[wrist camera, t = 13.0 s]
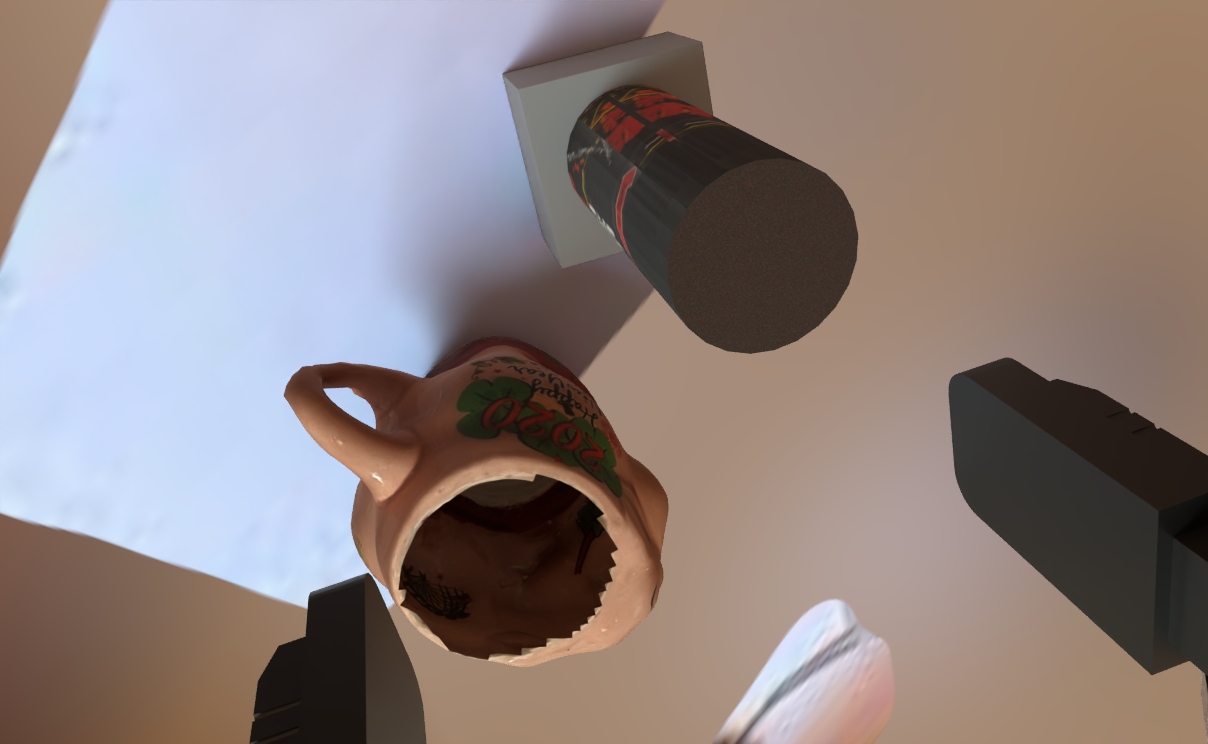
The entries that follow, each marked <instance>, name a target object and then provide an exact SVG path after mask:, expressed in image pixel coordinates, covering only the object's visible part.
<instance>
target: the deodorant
mask: <svg viewBox="0 0 1208 744" xmlns="http://www.w3.org/2000/svg"><path fill="white" fill-rule="evenodd" d="M567 165H568V173H569V176H570V179H571V182H572V185H573V188H574V189H575V191H576V192H577V194H578V195H579V197H580V198H581V200H582V201H583V203H584V204H585V205H586V206H587V207H588V209H589V210H590V211H591V212H592V213H593V215H594V216H595V217H596V218H597V219H598V221H599V222H600V223H601V224H602V225H603V227H604V228H605V229H606V230H607V231H608V232H609V234H610V235H611V236H612V237H613V238H614V240H615V241H616V242H617V243H618V244H619V246H620V247H621V248H622V249H623V250H624V252H625V253H626V254H627V255H628V256H629V258H630V259H631V260H632V261H633V262H634V264H635V265H636V266H637V267H638V268H639V270H640V271H641V272H642V273H643V274H644V276H645V277H646V278H647V279H648V280H649V282H650V283H651V284H652V285H653V286H654V288H655V289H656V290H657V291H658V292H659V294H660V295H661V296H662V297H663V298H664V300H665V301H666V302H667V303H668V304H669V306H670V307H671V308H672V309H673V310H674V312H675V313H676V314H677V315H678V316H679V318H680V319H681V320H682V321H683V322H684V323H685V325H686V326H687V327H688V328H689V329H690V330H691V331H692V332H694V333H695V334H696V335H697V336H699V337H700V338H701V339H702V340H704V341H705V342H706V343H709V344H711V345H713V346H716V347H718V348H721V349H723V350H726V351H731V352H740V353H749V354H751V353H758V352H765V351H771V350H776V349H778V348H780V347H783V346H785V345H788V344H790V343H792V342H795V341H797V340H799V339H800V338H802V337H803V336H805V335H806V334H807V333H809V332H810V331H811V330H813V329H815V328H816V327H817V326H819V324H820V323H821V322H822V321H823V320H824V319H825V318H826V317H827V316H828V315H829V314H830V313H831V311H832V310H833V309H834V308H835V307H836V306H837V304H838V302H839V301H840V299H841V297H842V295H843V294H844V292H845V290H846V289H847V287H848V285H849V282H850V279H851V276H852V273H853V270H854V266H855V263H856V259H857V245H858V232H857V227H856V221H855V216H854V212H853V210H852V208H851V206H850V204H849V202H848V200H847V198H846V196H845V194H844V192H843V190H842V189H841V188H840V187H839V186H838V185H837V184H836V183H835V182H834V181H833V180H832V179H831V178H830V177H829V176H828V175H827V174H826V173H824V172H822V171H820V170H818V169H816V168H814V167H812V166H810V165H808V164H806V163H805V162H802V161H801V160H799V159H797V158H795V157H793V156H791V155H789V154H787V153H785V152H783V151H781V150H779V149H777V148H775V147H773V146H771V145H769V144H767V143H765V142H763V141H761V140H759V139H757V138H755V137H754V136H752V135H750V134H748V133H746V132H744V131H742V130H740V129H738V128H736V127H734V126H732V125H730V124H728V123H726V122H724V121H722V120H720V119H718V118H716V117H714V116H712V115H710V114H708V113H706V112H704V111H702V110H700V109H698V108H697V107H695V106H693V105H691V104H689V103H687V102H685V101H683V100H681V99H679V98H677V97H675V96H673V95H671V94H669V93H667V92H665V91H663V90H661V89H659V88H657V87H652V86H647V85H641V84H637V85H627V86H621V87H618V88H616V89H613V90H610V91H608V92H605V93H604V94H602V95H601V96H599V97H598V98H597V99H595V100H594V101H593V102H591V103H590V104H589V105H588V106H587V108H586V109H585V110H584V111H583V112H582V114H581V115H580V116H579V117H578V119H577V121H576V123H575V125H574V128H573V130H572V132H571V134H570V138H569V143H568V149H567Z"/></svg>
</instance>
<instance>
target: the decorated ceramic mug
mask: <svg viewBox="0 0 1208 744" xmlns="http://www.w3.org/2000/svg"><path fill="white" fill-rule="evenodd" d="M345 387H348V388H350V389H352V391H353V393H354V394H356V395H358V396H360V397H362V398H363V399H365V400H367V402H368V403H369V404H370V405H371V407H372V409H373V411H374V414H375V418H376V430H375V429H373V428H372V427H370V426H368V425H366V424H364V423H362V422H361V421H359V420H357V419H355V418H354V417H352V416H351V415H349V414H347V413H346V412H345V411H343V410H342V409H341V408H339V407H338V406H337V405H336V404H335V403H334V402H332V401H331V400H330V398H329V397H328V396H327V395H326V393H325V392H324V390H323V389H325V388H345ZM284 397H285V398H286V400H287V401H288V403H289V404H290V406H291V407H292V409H293V411H294V412H295V414H296V415H297V417H298V419H299V420H300V422H301V423H302V425H303V426H304V428H305V429H306V431H307V432H308V433H309V434H310V435H311V437H312V438H313V439H314V440H315V441H316V442H317V443H318V444H319V446H320V447H321V448H323V449H324V450H325V451H326V452H327V453H328V454H330V455H331V456H332V457H334V458H335V459H337V460H338V461H339V462H341V463H342V464H343V465H345V466H346V467H347V468H348V469H350V470H351V471H352V472H353V473H354V474H356V475H357V476H358V477H359V478H360V479H361V480H360V482H359V484H358V486H357V490H356V494H355V499H354V505H353V511H352V519H351V530H352V536H353V539H354V543H355V545H356V548H357V550H358V553H359V555H360V557H361V558H362V560H363V562H364V563H365V565H366V566H367V568H368V569H369V570H370V572H371V573H372V574H373V576H374V577H375V578H376V579H377V580H378V581H379V582H380V583H381V584H382V585H384V586H385V587H386V588H387V589H388V590H389V592H390V595H391V597H392V598H393V600H394V602H395V603H396V605H397V606H398V608H399V609H400V610H401V612H402V613H403V614H404V616H405V617H406V618H407V619H408V621H409V622H410V623H411V624H412V625H413V626H414V627H415V628H416V629H417V630H418V631H419V632H421V633H422V634H423V635H424V636H426V637H427V638H428V639H430V640H432V641H433V642H435V643H437V644H438V645H439V646H441V647H443V648H444V649H446V650H448V651H451V652H454V653H456V654H460V655H462V656H466V657H470V658H475V659H480V660H488V661H494V662H499V663H504V664H508V665H513V666H521V667H528V666H534V665H537V664H539V663H542V662H545V661H549V660H552V659H555V658H558V657H562V656H565V655H570V654H576V653H582V652H590V651H599V650H604V649H607V648H610V647H611V646H614V645H616V644H618V643H619V642H620V641H622V640H623V639H624V638H625V637H626V636H627V635H629V634H630V632H631V631H632V630H633V629H634V628H635V627H636V626H637V625H638V624H639V623H640V622H641V621H642V620H643V619H644V618H646V617H647V616H648V615H649V613H650V612H651V611H652V609H653V608H654V606H655V603H656V601H657V597H658V593H659V588H660V586H661V584H662V581H663V568H662V564H661V561H660V560H661V550H662V544H663V539H664V532H665V526H666V521H667V515H668V498H667V495H666V493H665V491H664V489H663V487H662V486H661V484H660V483H659V481H658V480H657V478H656V477H655V476H654V475H653V474H652V473H651V472H650V471H649V470H648V469H647V468H646V467H645V466H644V465H643V464H641V463H640V462H639V461H637V460H636V459H634V458H633V457H631V456H630V455H629V454H627V453H626V452H625V450H624V449H623V448H622V445H621V444H620V442H619V440H618V438H617V436H616V434H615V433H614V431H613V428H612V426H611V425H610V423H609V421H608V420H607V418H606V417H605V415H604V414H603V412H602V411H601V410H600V408H599V407H598V405H597V403H596V401H595V400H594V398H593V396H592V395H591V394H590V392H589V391H588V390H587V388H586V387H585V386H584V385H583V384H582V383H581V381H580V380H579V379H578V378H577V377H576V376H575V375H574V374H573V373H572V372H571V371H569V370H568V369H567V368H566V367H565V366H563V365H562V364H561V363H559V362H558V361H557V360H555V359H554V358H552V357H551V356H549V355H548V354H546V353H544V352H543V351H541V350H539V349H537V348H535V347H533V346H531V345H529V344H527V343H525V342H522V341H519V340H516V339H512V338H505V337H487V338H482V339H479V340H476V341H474V342H471V343H469V344H467V345H466V346H464V347H462V348H461V349H460V350H458V351H457V352H456V353H455V354H453V355H452V356H451V357H449V358H448V359H447V360H445V361H444V362H443V363H441V364H440V365H438V366H437V367H435V368H434V369H433V370H431V371H430V372H429V373H428V374H427V375H426V376H425V378H420V377H417V376H414V375H411V374H408V373H404V372H401V371H397V370H392V369H387V368H382V367H377V366H371V365H365V364H351V363H345V362H338V363H333V364H320V365H313V366H305V367H302V368H301V369H300V370H299V371H298V372H296V373H295V374H294V375H293V376H292V377H291V379H290V381H289V382H288V384H287V386H286V389H285V393H284Z"/></svg>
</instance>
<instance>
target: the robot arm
mask: <svg viewBox="0 0 1208 744" xmlns="http://www.w3.org/2000/svg"><path fill="white" fill-rule="evenodd" d="M949 404H950V417H951V430H952V443H953V455H954V468H955V474H956V479H957V482H958V485H959V488H960V490H961V493H962V495H963V497H964V499H965V500H966V502H967V503H968V505H969V507H970V508H971V509H972V510H973V512H974V513H975V514H976V515H977V516H978V517H979V518H981V519H982V520H983V521H984V522H985V523H986V524H987V525H988V526H989V527H990V528H991V529H992V530H994V531H995V532H996V533H997V534H998V535H999V536H1000V537H1001V538H1002V539H1003V540H1004V541H1006V542H1007V543H1008V544H1009V545H1010V546H1011V547H1012V548H1013V549H1014V550H1015V551H1017V552H1018V553H1019V554H1020V555H1021V556H1022V557H1023V558H1024V559H1025V560H1026V561H1027V562H1029V563H1030V564H1031V565H1032V566H1033V567H1034V568H1035V569H1036V570H1037V571H1038V572H1040V573H1041V574H1042V575H1043V576H1044V577H1045V578H1046V579H1047V580H1048V581H1049V582H1051V583H1052V584H1053V585H1054V586H1055V587H1056V588H1057V589H1058V590H1059V591H1060V592H1061V593H1062V594H1063V595H1065V596H1066V597H1067V598H1068V599H1069V600H1070V601H1071V602H1072V603H1073V604H1074V605H1076V606H1077V607H1078V608H1079V609H1080V610H1081V611H1082V612H1083V613H1084V614H1085V615H1086V616H1088V617H1089V618H1090V619H1091V620H1092V621H1093V622H1094V623H1095V624H1096V625H1097V626H1098V627H1100V628H1101V629H1102V630H1103V631H1104V632H1105V633H1106V634H1107V635H1108V636H1110V637H1111V638H1112V639H1113V640H1114V641H1115V642H1116V643H1117V644H1118V645H1119V646H1120V647H1121V648H1123V649H1124V650H1125V651H1126V652H1127V653H1128V654H1129V655H1130V656H1131V657H1132V658H1133V659H1135V660H1136V661H1137V662H1138V663H1139V664H1140V665H1141V666H1142V667H1143V668H1144V669H1145V670H1147V671H1148V672H1149V673H1150V674H1151V675H1154V674H1156V673H1159V672H1161V671H1164V670H1167V669H1169V668H1172V667H1174V666H1177V665H1180V664H1182V663H1185V662H1187V661H1191V662H1192V663H1193V664H1194V665H1196V666H1197V667H1198V668H1199V669H1200V670H1201V671H1202V681H1201V697H1202V705H1203V713H1204V720H1205V728H1206V735H1207V743H1208V456H1207V455H1206V454H1204V453H1202V452H1201V451H1199V450H1197V449H1195V448H1194V447H1192V446H1191V445H1189V444H1187V443H1186V442H1184V441H1182V440H1180V439H1179V438H1177V437H1175V436H1174V435H1172V434H1170V433H1169V432H1167V431H1165V430H1164V429H1162V428H1159V429H1156V427H1155V425H1154V423H1152V422H1150V421H1149V420H1147V419H1145V418H1144V417H1142V416H1140V415H1138V414H1137V413H1132V414H1131V413H1130V411H1129V408H1127V407H1125V406H1124V405H1122V404H1120V403H1119V402H1116V401H1115V400H1113V399H1112V398H1110V397H1108V396H1107V395H1105V394H1103V393H1101V392H1100V391H1098V390H1095V389H1091V388H1088V387H1084V386H1081V385H1077V384H1074V383H1070V382H1066V381H1063V380H1059V379H1055V380H1052V381H1048V380H1046V379H1045V378H1043V377H1041V376H1040V375H1038V374H1037V373H1035V372H1033V371H1032V370H1030V369H1029V368H1027V367H1025V366H1024V365H1022V364H1021V363H1019V362H1017V361H1016V360H1014V359H1012V358H1003V359H1000V360H997V361H994V362H991V363H988V364H985V365H982V366H979V367H976V368H973V369H970V370H967V371H964V372H962V373H958V374H956V375H954V376H953V377H952V378H951V380H950V383H949ZM253 715H254V718H255V721H254V722H252V729H251V736H250V744H426V734H425V722H424V711H423V703H422V698H421V693H420V689H419V685H418V682H417V678H416V675H415V672H414V669H413V666H412V663H411V661H410V659H409V656H408V654H407V652H406V650H405V647H404V645H403V643H402V641H401V638H400V636H399V634H398V632H397V629H396V627H395V625H394V623H393V620H392V618H391V616H390V613H389V611H388V609H387V607H386V604H385V602H384V600H383V598H382V595H381V593H380V591H379V589H378V586H377V584H376V582H375V581H374V579H373V577H372V576H371V575H370V574H369V573H366V574H363V575H360V576H357V577H354V578H351V579H348V580H345V581H342V582H339V583H337V584H334V585H331V586H328V587H325V588H322V589H319V590H316V591H313V592H311V593H310V595H309V599H308V612H307V625H306V637H303V638H300V639H297V640H294V641H292V642H288V643H286V644H283V645H280V646H278V648H277V650H276V652H275V653H274V655H273V657H272V658H271V660H270V662H269V663H268V665H267V667H266V668H265V670H264V672H263V674H262V675H261V677H260V679H259V680H258V686H257V692H256V700H255V707H254V714H253Z"/></svg>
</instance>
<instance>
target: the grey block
mask: <svg viewBox="0 0 1208 744" xmlns="http://www.w3.org/2000/svg"><path fill="white" fill-rule="evenodd" d="M502 75H503V79H504V83H505V87H506V91H507V95H508V99H509V103H510V107H511V111H512V115H513V119H514V123H515V127H516V131H517V135H518V139H519V143H520V147H521V151H522V155H523V159H524V163H525V167H526V171H527V175H528V179H529V183H530V187H531V191H532V195H533V199H534V203H535V207H536V211H537V215H538V219H539V223H540V227H541V231H542V235H543V238H544V240H545V242H546V243H547V245H548V247H549V248H550V250H551V251H552V253H553V255H554V256H555V258H556V260H557V261H558V263H559V265H560V266H561V268H562V269H564V268H567V267H571V266H574V265H578V264H581V263H585V262H588V261H592V260H595V259H599V258H603V257H606V256H610V255H613V254H617V253H620V252H624V250H623V249H622V248H621V247H620V246H619V244H618V243H617V242H616V241H615V240H614V238H613V237H612V236H611V235H610V234H609V232H608V231H607V230H606V229H605V228H604V227H603V225H602V224H601V223H600V222H599V221H598V219H597V218H596V217H595V216H594V215H593V213H592V212H591V211H590V210H589V209H588V207H587V206H586V205H585V204H584V203H583V201H582V200H581V198H580V197H579V195H578V194H577V192H576V191H575V189H574V188H573V185H572V182H571V179H570V176H569V173H568V165H567V149H568V143H569V138H570V134H571V132H572V130H573V128H574V125H575V123H576V121H577V119H578V117H579V116H580V115H581V114H582V112H583V111H584V110H585V109H586V108H587V106H588V105H589V104H590V103H591V102H593V101H594V100H595V99H597V98H598V97H599V96H601V95H602V94H604V93H605V92H608V91H610V90H613V89H616V88H618V87H621V86H627V85H637V84H641V85H647V86H652V87H657V88H659V89H661V90H663V91H665V92H667V93H669V94H671V95H673V96H675V97H677V98H679V99H681V100H683V101H685V102H687V103H689V104H691V105H693V106H695V107H697V108H698V109H700V110H702V111H704V112H706V113H708V114H710V115H712V116H713V111H712V104H711V99H710V91H709V86H708V79H707V72H706V65H705V59H704V52H703V46H702V42H700V41H697V40H694V39H690V38H687V37H684V36H680V35H677V34H674V33H671V32H665V33H661V34H657V35H653V36H649V37H645V38H641V39H637V40H633V41H629V42H626V43H622V44H618V45H614V46H610V47H606V48H602V49H598V50H594V51H590V52H587V53H583V54H579V55H575V56H571V57H567V58H563V59H559V60H555V61H551V62H547V63H544V64H540V65H536V66H532V67H528V68H524V69H520V70H516V71H512V72H508V73H505V74H502Z"/></svg>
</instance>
